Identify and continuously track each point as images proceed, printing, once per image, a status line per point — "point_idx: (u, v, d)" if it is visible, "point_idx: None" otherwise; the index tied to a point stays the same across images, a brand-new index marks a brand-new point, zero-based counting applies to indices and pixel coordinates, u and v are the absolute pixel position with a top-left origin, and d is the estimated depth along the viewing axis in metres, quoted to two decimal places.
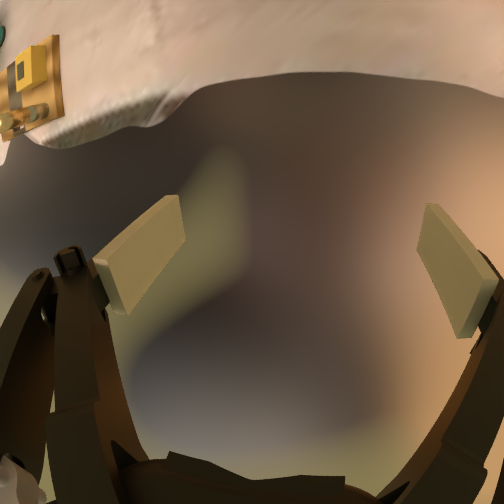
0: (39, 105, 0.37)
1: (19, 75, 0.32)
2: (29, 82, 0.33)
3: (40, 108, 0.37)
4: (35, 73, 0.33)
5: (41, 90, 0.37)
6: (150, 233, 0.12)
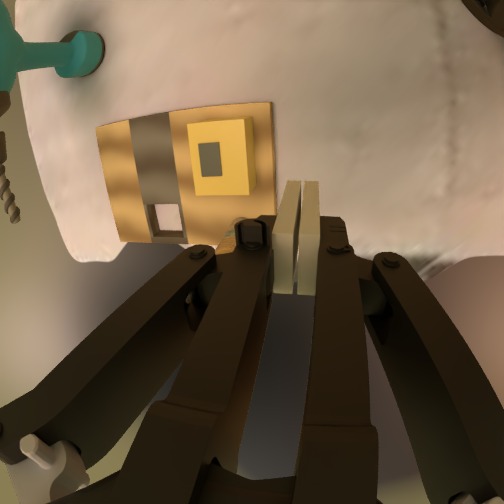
0: None
1: (208, 168, 0.29)
2: (240, 191, 0.30)
3: None
4: (250, 176, 0.30)
5: (239, 195, 0.34)
6: None
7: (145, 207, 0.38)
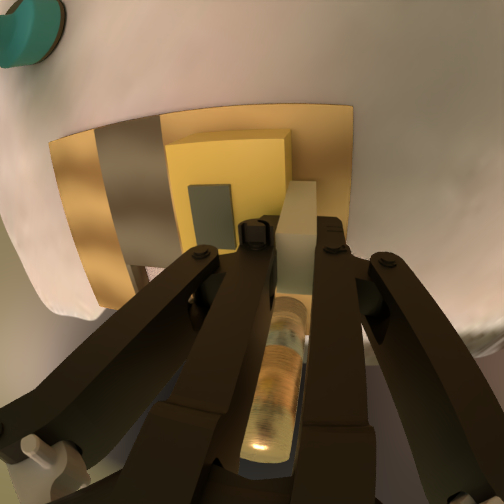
0: (300, 321, 0.20)
1: (210, 234, 0.15)
2: None
3: (304, 329, 0.21)
4: None
5: None
6: None
7: (129, 268, 0.24)
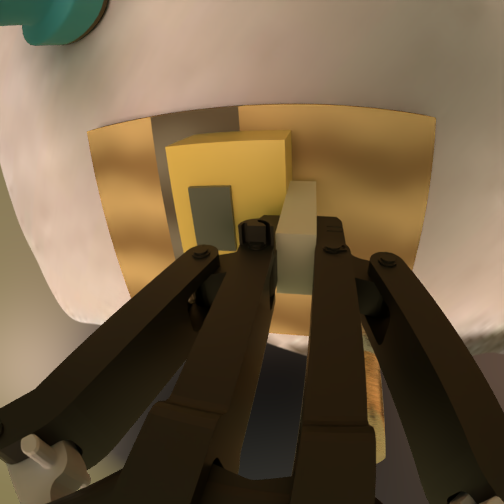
0: None
1: (210, 235, 0.15)
2: None
3: None
4: None
5: None
6: None
7: None
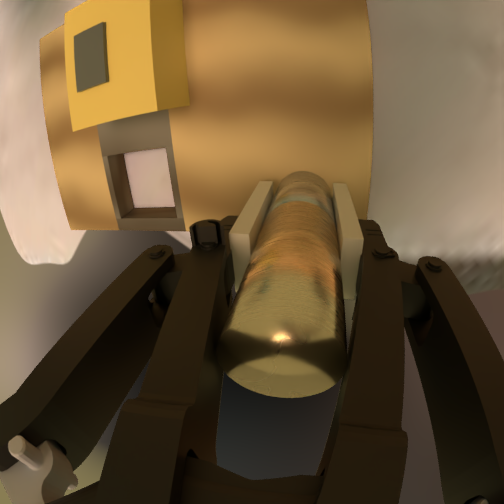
0: (325, 192, 0.14)
1: (86, 72, 0.11)
2: (140, 107, 0.12)
3: None
4: (163, 76, 0.12)
5: (299, 124, 0.15)
6: (264, 214, 0.13)
7: (105, 161, 0.18)
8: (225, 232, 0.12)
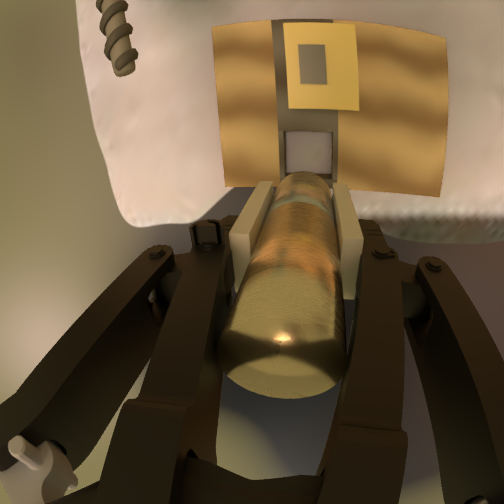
0: (325, 193, 0.15)
1: (310, 73, 0.20)
2: (347, 105, 0.21)
3: (332, 206, 0.15)
4: None
5: (412, 130, 0.24)
6: (264, 214, 0.13)
7: (280, 135, 0.27)
8: (225, 232, 0.12)
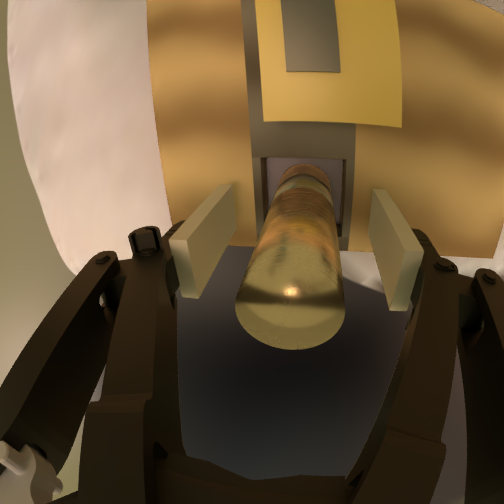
0: (325, 181, 0.16)
1: (307, 50, 0.09)
2: (380, 116, 0.10)
3: (330, 194, 0.16)
4: None
5: (471, 159, 0.13)
6: (215, 218, 0.13)
7: (256, 164, 0.17)
8: None
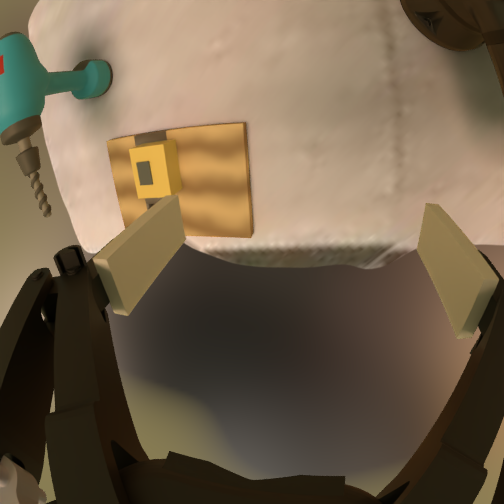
0: None
1: (144, 179, 0.40)
2: (165, 194, 0.41)
3: None
4: (172, 183, 0.41)
5: (221, 196, 0.44)
6: (150, 233, 0.12)
7: (147, 206, 0.47)
8: None
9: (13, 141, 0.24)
